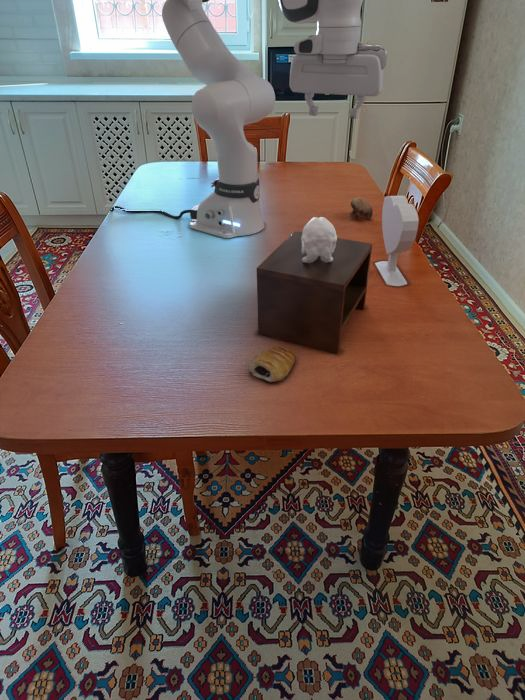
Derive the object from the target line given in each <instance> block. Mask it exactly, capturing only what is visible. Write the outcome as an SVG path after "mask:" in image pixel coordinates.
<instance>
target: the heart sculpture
mask: <svg viewBox="0 0 525 700" xmlns="http://www.w3.org/2000/svg"><path fill="white" fill-rule="evenodd" d="M381 212H382V213H381V229H382V237H383V242H384V248H385V254H386V255H388V257H387V260H381V261H377V262H374V264H375V267H376V268H377V270H378V272H379V274H380V275H381V277H382V278H383V280H384V282H385V284H386V285H387V286H393V287H402V286H405V285H408V282H407V280H406V279H405V277H404V276H403V274H402V273H401V271H400V270H399V268H398V266H397V265H398V259H399V255H401V254H403V253H406V252H408V251H410V250H411V249H412V247H413V245H414V243H415V242H416V239H417V234H418V230H419V222H420V219H419V214H418V212H417V209H416V207H415V206H414V204H412V203H409V202H408V197H406V196H405V195H386V196H385V197H384V198H383V204H382V211H381Z"/></svg>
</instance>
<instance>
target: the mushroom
mask: <svg viewBox="0 0 525 700" xmlns="http://www.w3.org/2000/svg"><path fill="white" fill-rule="evenodd" d="M350 206H351V207H350V208H352V210H351V211H350V212H349V213H348V215H349V217H350V218H351V219H352V220H353V219H354V220H356V219H357V218H360V217H362V218H365V219H367V220H370V219H372V217H373V213H374V212H373V206H372V205H371V204H370V203H369V202H368V201H367V200H366V199H364V198H362V197H355V198H353V199H351V200H350Z"/></svg>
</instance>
